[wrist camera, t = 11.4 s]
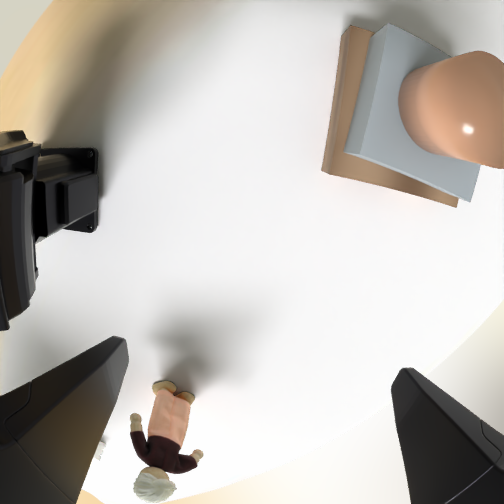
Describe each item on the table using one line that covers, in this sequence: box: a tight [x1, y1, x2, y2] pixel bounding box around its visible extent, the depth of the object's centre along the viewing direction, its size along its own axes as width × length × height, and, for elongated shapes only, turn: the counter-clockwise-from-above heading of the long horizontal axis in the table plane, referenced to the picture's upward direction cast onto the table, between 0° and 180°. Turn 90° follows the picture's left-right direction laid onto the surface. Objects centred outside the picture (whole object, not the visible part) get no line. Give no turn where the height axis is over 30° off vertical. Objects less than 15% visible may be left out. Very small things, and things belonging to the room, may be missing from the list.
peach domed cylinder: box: [398, 51, 504, 169], centre depth 10 cm, size 5×5×5 cm
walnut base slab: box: [322, 25, 459, 208], centre depth 16 cm, size 10×10×3 cm
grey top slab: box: [343, 23, 481, 202], centre depth 13 cm, size 8×8×3 cm
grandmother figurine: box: [130, 381, 203, 503], centre depth 21 cm, size 8×4×13 cm, turn 59°
